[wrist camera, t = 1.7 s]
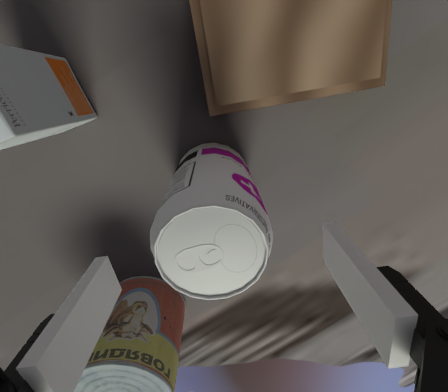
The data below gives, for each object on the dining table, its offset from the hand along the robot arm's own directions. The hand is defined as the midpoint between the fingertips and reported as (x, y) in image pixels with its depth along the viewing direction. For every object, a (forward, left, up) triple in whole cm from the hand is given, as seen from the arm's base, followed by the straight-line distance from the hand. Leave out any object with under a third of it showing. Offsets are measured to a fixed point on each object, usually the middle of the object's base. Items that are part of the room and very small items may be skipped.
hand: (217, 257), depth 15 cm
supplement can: (0, 0, -15) cm, 15 cm away
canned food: (-13, -18, -15) cm, 27 cm away
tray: (+9, +15, -15) cm, 23 cm away
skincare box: (-13, +11, -15) cm, 23 cm away
